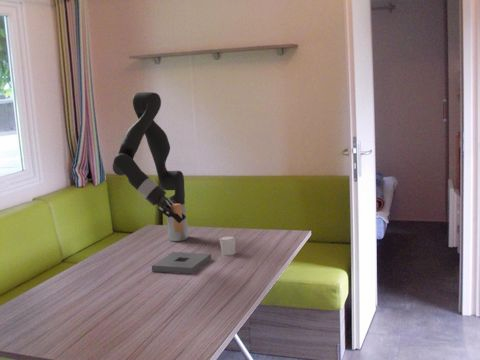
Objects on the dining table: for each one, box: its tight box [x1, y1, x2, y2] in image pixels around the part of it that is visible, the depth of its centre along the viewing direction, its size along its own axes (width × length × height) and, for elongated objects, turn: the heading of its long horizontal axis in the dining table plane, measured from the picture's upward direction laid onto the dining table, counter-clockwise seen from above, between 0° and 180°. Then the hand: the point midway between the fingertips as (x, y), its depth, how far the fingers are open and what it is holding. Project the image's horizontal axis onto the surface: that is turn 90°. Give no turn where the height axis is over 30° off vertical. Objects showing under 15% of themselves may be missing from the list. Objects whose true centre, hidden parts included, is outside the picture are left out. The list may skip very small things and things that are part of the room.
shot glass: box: [219, 235, 236, 257], centre depth 242 cm, size 7×7×7 cm
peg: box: [172, 204, 183, 232], centre depth 228 cm, size 4×4×11 cm
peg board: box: [151, 251, 212, 275], centre depth 231 cm, size 18×18×2 cm
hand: (182, 219), depth 228 cm, fingers closed on peg, 3 cm apart
